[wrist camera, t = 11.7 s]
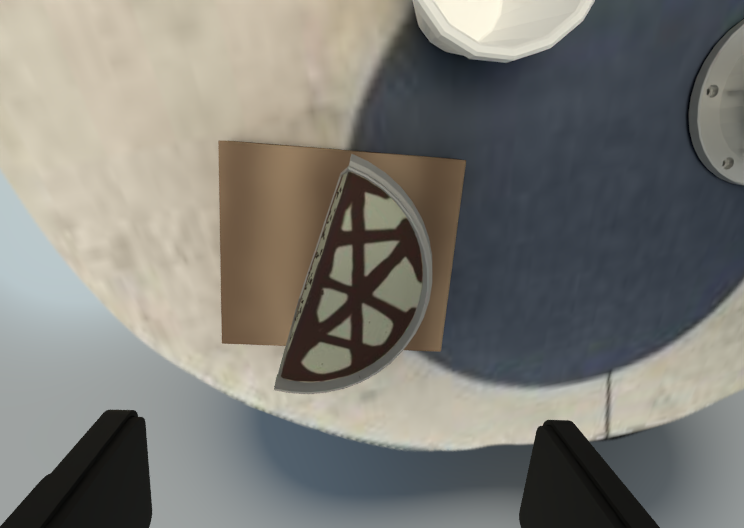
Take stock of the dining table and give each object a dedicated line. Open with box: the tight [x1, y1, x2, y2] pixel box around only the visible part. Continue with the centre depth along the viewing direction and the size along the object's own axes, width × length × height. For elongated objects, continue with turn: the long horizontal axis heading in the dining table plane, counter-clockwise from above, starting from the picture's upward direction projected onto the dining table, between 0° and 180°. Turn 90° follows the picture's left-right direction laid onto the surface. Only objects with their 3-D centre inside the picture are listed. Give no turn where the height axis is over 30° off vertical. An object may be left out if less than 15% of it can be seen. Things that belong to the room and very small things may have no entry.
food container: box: [274, 154, 432, 394], centre depth 25 cm, size 12×6×10 cm, turn 160°
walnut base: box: [219, 141, 466, 351], centre depth 31 cm, size 16×14×3 cm
